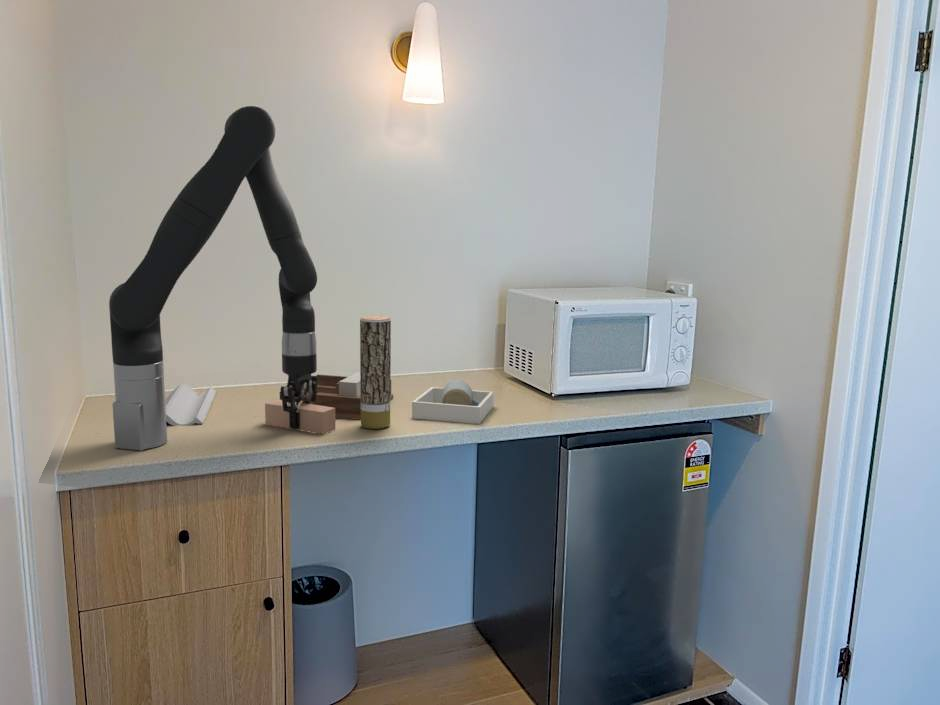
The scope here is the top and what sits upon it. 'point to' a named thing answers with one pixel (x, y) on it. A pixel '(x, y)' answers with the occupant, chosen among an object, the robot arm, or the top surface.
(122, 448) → the robot arm
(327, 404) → the rack
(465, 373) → the top surface
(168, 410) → the crown molding
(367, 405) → the bark log cylinder
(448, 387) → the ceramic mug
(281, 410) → the clay bar
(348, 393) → the grey bar
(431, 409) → the frame
